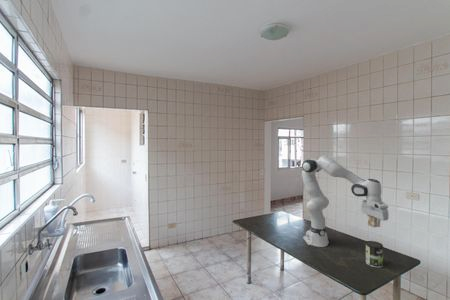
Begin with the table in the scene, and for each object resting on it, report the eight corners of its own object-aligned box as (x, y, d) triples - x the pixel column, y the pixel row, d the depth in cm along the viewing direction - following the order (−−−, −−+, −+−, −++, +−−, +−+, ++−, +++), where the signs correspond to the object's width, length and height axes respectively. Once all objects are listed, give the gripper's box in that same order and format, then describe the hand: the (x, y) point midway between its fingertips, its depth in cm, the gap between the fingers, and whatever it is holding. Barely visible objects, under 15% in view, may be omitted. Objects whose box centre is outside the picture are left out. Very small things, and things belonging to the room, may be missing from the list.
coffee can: (386, 265, 162) (386, 245, 161) (376, 269, 158) (376, 248, 157) (372, 258, 171) (371, 239, 171) (362, 262, 167) (362, 242, 167)
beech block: (368, 224, 165) (367, 216, 165) (374, 224, 166) (374, 215, 166) (373, 227, 161) (373, 218, 160) (380, 226, 161) (380, 217, 161)
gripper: (358, 199, 172) (358, 218, 173) (381, 207, 152) (382, 228, 153) (366, 198, 174) (366, 217, 174) (390, 206, 153) (390, 227, 154)
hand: (373, 222), depth 163 cm, fingers closed on beech block, 5 cm apart
